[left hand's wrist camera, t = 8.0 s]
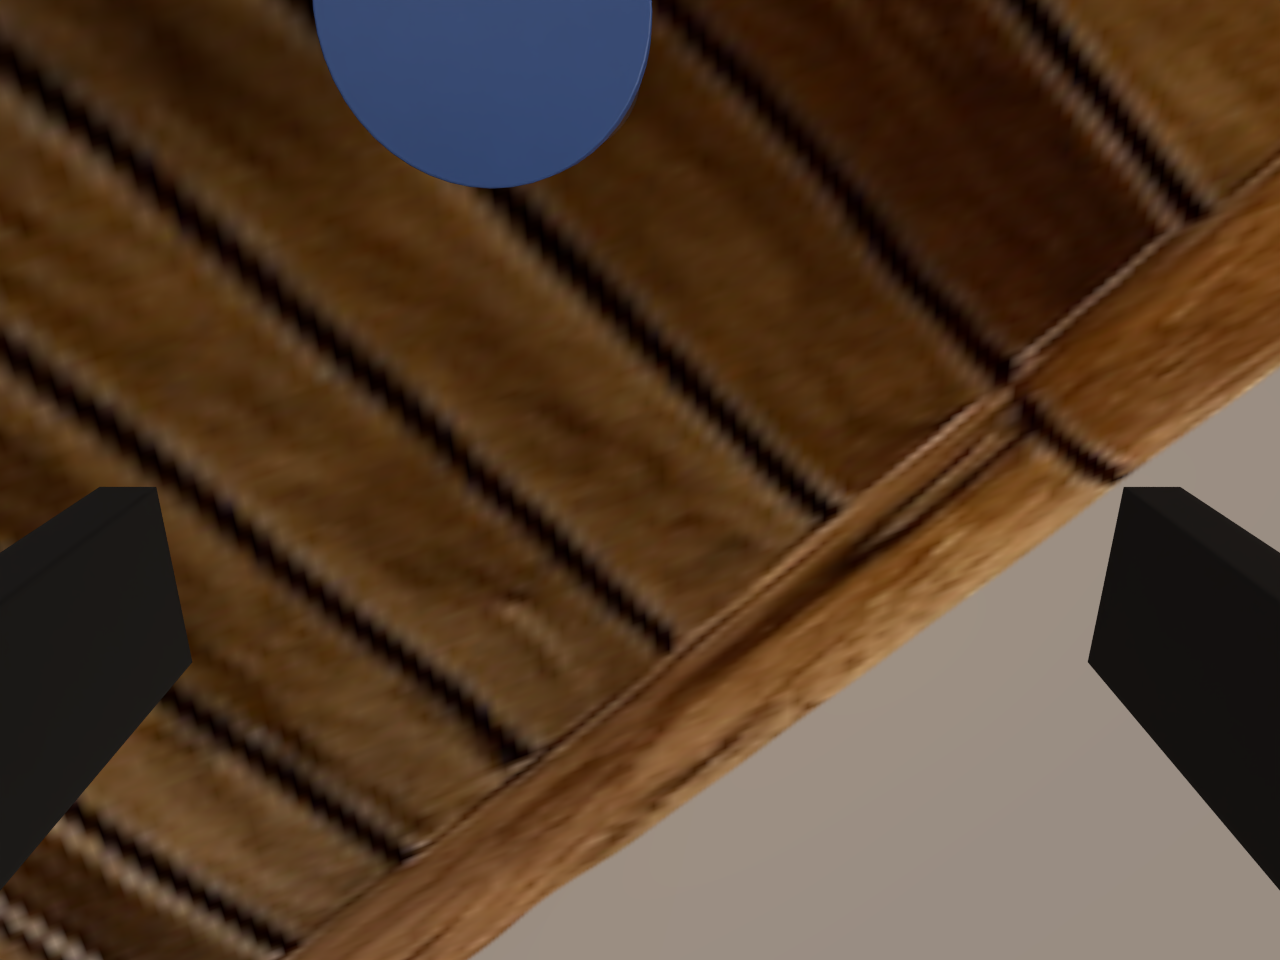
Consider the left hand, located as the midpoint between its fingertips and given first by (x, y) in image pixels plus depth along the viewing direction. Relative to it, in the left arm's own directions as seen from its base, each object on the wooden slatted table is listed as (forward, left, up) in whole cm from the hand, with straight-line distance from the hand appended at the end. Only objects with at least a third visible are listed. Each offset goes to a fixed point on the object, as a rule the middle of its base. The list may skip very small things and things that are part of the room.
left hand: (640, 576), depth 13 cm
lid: (-7, +4, -7) cm, 11 cm away
